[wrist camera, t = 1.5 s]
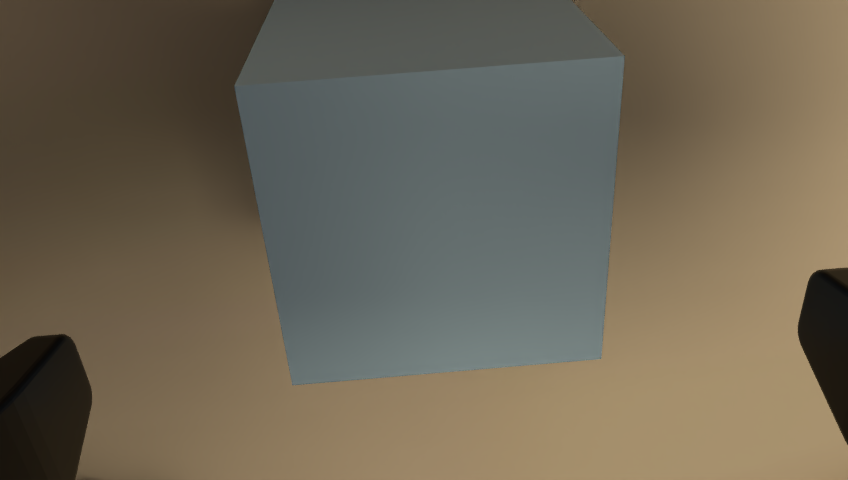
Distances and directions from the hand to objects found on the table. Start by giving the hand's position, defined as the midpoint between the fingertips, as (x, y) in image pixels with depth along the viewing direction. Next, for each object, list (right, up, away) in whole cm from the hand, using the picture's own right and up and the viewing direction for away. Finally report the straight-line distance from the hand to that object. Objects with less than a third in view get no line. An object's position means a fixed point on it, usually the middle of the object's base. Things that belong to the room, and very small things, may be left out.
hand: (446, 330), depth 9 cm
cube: (0, +4, +6) cm, 7 cm away
